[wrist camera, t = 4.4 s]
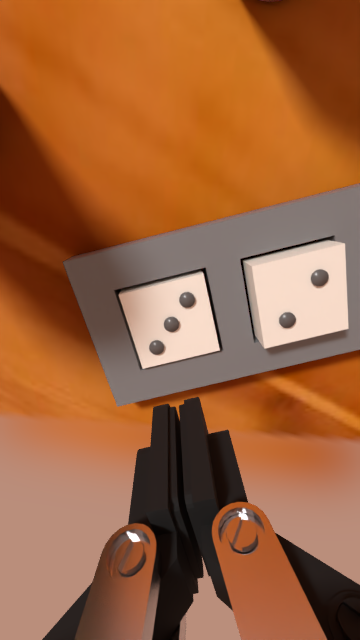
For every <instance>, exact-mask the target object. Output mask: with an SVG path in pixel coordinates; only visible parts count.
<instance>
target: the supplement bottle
mask: <svg viewBox="0 0 360 640" xmlns="http://www.w3.org/2000/svg"><path fill="white" fill-rule="evenodd" d="M260 1H265V2H277V1H281V0H260Z"/></svg>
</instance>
